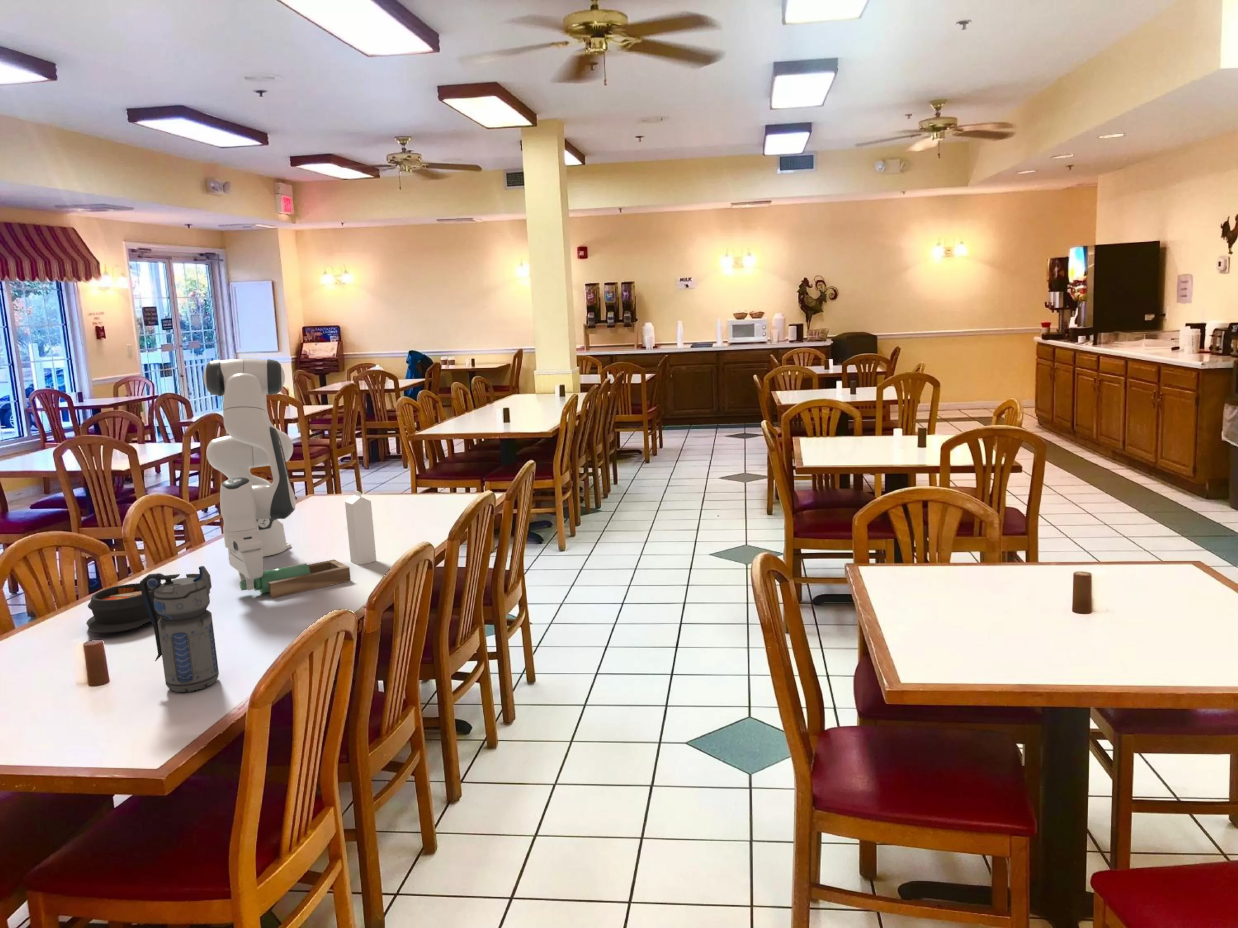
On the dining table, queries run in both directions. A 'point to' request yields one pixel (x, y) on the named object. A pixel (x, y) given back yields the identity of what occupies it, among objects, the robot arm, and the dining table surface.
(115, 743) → the dining table surface
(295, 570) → the bottle
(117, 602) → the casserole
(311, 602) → the dining table surface
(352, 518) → the milk
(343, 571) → the u rest
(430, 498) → the dining table surface
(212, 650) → the blue striped grenade
